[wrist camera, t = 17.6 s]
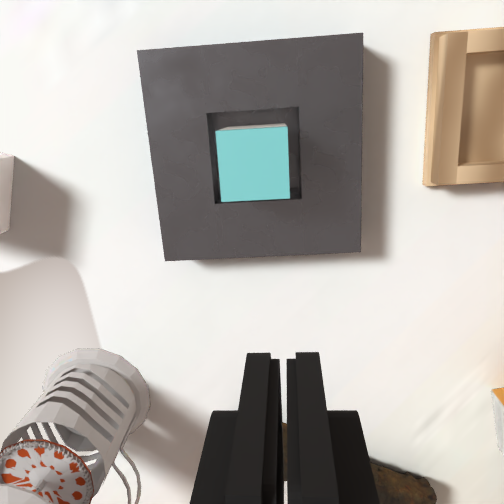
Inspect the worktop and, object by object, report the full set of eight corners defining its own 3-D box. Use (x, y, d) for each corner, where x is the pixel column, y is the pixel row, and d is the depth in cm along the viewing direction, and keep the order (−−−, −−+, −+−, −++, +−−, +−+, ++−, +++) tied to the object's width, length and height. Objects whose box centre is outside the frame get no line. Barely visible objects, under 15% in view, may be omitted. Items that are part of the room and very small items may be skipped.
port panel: (354, 40, 29) (363, 32, 26) (353, 240, 34) (360, 252, 31) (149, 56, 30) (136, 50, 27) (173, 248, 34) (165, 261, 32)
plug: (284, 123, 31) (287, 126, 24) (286, 180, 32) (290, 198, 25) (228, 126, 31) (215, 131, 24) (232, 182, 32) (221, 202, 25)
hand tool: (429, 471, 40) (448, 515, 36) (405, 501, 42) (421, 547, 37) (246, 388, 39) (242, 424, 34) (227, 421, 40) (221, 460, 35)
